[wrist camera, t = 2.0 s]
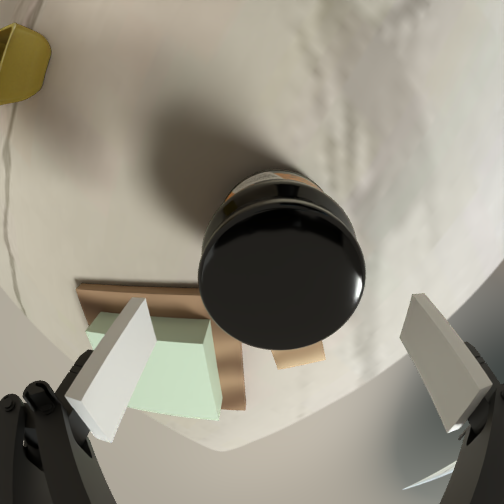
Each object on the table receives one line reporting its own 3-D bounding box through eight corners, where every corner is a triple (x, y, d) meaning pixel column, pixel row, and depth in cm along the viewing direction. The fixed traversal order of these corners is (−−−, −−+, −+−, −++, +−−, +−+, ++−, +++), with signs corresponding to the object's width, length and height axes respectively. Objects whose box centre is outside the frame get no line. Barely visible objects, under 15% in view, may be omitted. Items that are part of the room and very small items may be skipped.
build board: (81, 283, 30) (75, 289, 29) (237, 288, 29) (236, 296, 28) (124, 388, 38) (121, 395, 37) (246, 402, 37) (245, 410, 35)
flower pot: (9, 105, 21) (-40, 109, 13) (25, 44, 17) (-21, 37, 9) (47, 105, 21) (-9, 107, 13) (67, 36, 18) (16, 21, 10)
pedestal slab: (100, 311, 30) (85, 331, 26) (210, 319, 29) (202, 344, 25) (131, 386, 35) (122, 406, 32) (222, 397, 34) (218, 420, 31)
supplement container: (243, 150, 24) (222, 160, 13) (349, 194, 25) (407, 239, 14) (206, 252, 28) (170, 327, 17) (303, 286, 29) (321, 372, 18)
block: (266, 305, 30) (265, 335, 25) (311, 295, 29) (318, 323, 24) (277, 339, 32) (278, 369, 27) (319, 329, 31) (325, 359, 26)
